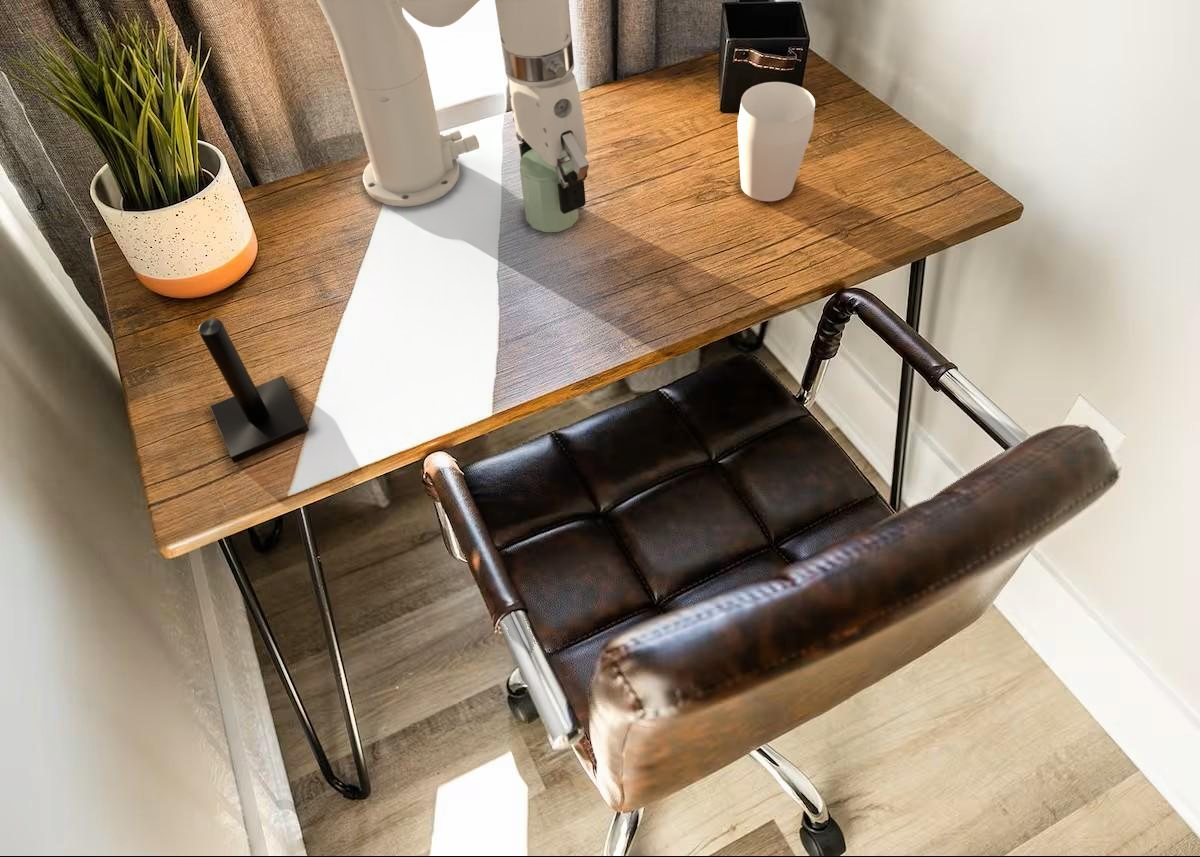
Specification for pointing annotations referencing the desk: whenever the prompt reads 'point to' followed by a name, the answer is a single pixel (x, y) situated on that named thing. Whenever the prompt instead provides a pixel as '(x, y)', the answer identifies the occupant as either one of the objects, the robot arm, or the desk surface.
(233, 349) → the peg
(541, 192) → the upturned cup
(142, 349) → the desk surface
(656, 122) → the desk surface
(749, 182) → the cup
